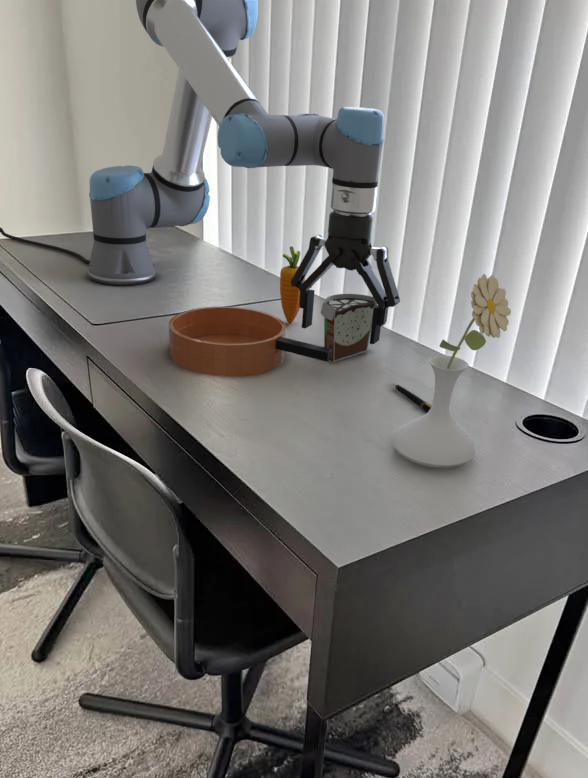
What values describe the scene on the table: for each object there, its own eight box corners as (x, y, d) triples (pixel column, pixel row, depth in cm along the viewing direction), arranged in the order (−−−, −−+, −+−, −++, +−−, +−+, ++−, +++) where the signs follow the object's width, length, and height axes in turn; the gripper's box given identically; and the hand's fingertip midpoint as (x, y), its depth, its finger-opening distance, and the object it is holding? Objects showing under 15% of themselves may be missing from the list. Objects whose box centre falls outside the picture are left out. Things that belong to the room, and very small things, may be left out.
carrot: (299, 328, 140) (304, 252, 133) (275, 325, 141) (278, 249, 133) (304, 321, 145) (309, 246, 137) (280, 318, 145) (284, 243, 138)
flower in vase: (418, 482, 92) (452, 291, 79) (375, 442, 100) (400, 265, 87) (499, 467, 96) (544, 285, 83) (451, 430, 105) (485, 261, 92)
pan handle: (274, 348, 120) (274, 339, 119) (279, 345, 121) (280, 336, 121) (327, 361, 116) (327, 352, 115) (332, 358, 118) (332, 349, 117)
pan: (146, 358, 122) (144, 327, 119) (211, 327, 138) (211, 299, 135) (246, 386, 115) (247, 354, 112) (303, 350, 130) (305, 321, 127)
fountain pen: (388, 387, 118) (389, 378, 117) (394, 386, 118) (395, 377, 118) (440, 423, 107) (441, 414, 106) (446, 421, 108) (448, 413, 107)
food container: (347, 340, 136) (353, 289, 131) (372, 349, 133) (378, 297, 128) (303, 353, 129) (307, 299, 123) (327, 364, 125) (332, 308, 120)
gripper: (276, 204, 119) (270, 325, 130) (415, 226, 110) (396, 355, 121) (296, 198, 125) (289, 315, 136) (430, 219, 116) (411, 342, 127)
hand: (339, 334), depth 129 cm, fingers open, 13 cm apart
